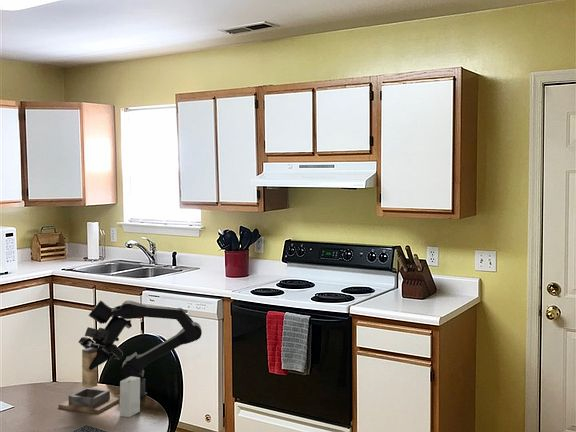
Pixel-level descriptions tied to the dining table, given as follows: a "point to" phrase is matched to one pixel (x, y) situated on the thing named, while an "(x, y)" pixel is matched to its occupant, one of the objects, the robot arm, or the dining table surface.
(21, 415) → the dining table surface
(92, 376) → the beige tall block
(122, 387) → the skincare box
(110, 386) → the dining table surface
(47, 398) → the dining table surface
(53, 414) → the dining table surface
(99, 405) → the peg socket base
